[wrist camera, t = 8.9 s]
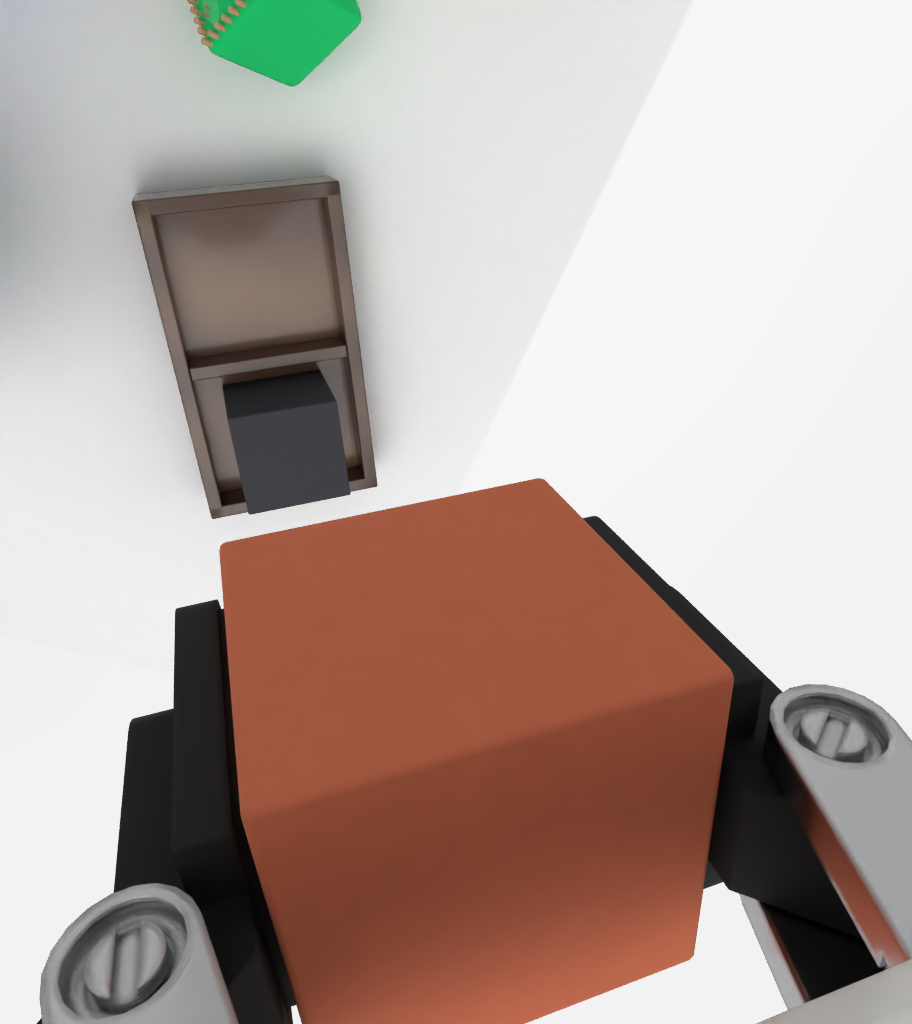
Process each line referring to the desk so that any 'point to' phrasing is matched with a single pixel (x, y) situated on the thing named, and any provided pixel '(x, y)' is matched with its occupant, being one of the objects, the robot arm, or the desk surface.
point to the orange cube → (468, 759)
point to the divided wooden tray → (255, 309)
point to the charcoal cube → (286, 440)
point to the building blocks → (275, 33)
